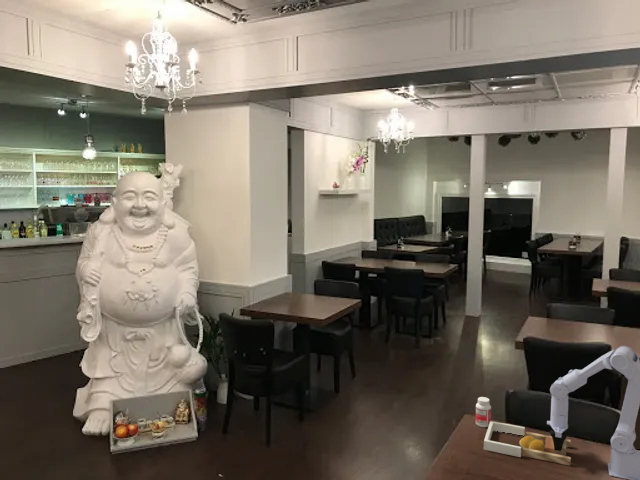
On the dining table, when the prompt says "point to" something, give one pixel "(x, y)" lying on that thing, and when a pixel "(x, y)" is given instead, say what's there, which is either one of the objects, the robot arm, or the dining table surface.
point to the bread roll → (532, 443)
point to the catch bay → (503, 447)
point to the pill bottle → (483, 412)
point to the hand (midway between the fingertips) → (557, 447)
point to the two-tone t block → (550, 447)
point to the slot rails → (546, 455)
